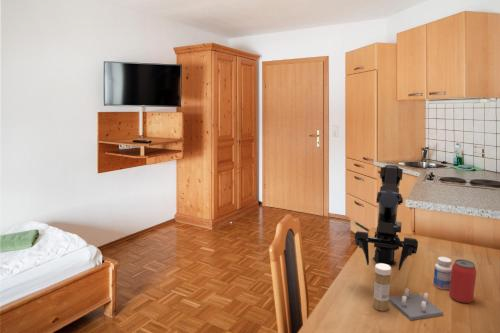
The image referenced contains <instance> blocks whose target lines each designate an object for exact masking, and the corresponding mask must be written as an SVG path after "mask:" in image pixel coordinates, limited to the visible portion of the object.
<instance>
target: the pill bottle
mask: <svg viewBox="0 0 500 333" xmlns="http://www.w3.org/2000/svg"><path fill="white" fill-rule="evenodd" d="M434 264H435V265H434V272H433V285H434V287H436V288H438V289H440V290H450V282H451V273H452V266H453V265H452V259H451V258H449V257H447V256H438V257H437V263H434Z"/></svg>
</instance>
